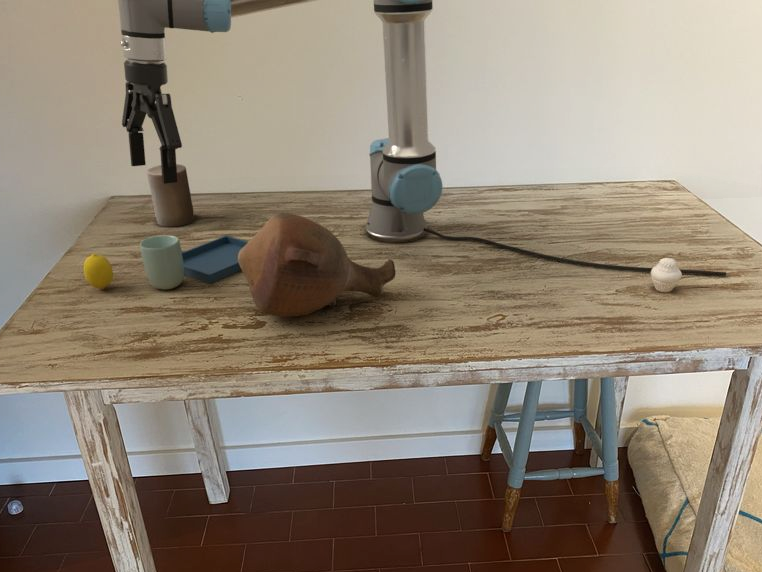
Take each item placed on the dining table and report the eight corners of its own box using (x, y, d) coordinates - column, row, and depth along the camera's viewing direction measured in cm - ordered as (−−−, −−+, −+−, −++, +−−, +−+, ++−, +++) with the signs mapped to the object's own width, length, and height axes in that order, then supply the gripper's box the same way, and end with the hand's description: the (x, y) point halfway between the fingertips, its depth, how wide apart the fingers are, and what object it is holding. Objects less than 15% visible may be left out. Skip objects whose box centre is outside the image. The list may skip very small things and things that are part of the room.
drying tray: (272, 256, 165) (271, 248, 164) (210, 283, 152) (209, 275, 151) (227, 242, 172) (226, 235, 171) (165, 267, 160) (164, 259, 159)
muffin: (641, 285, 149) (647, 255, 146) (665, 281, 152) (670, 250, 148) (661, 297, 144) (667, 265, 141) (685, 292, 147) (691, 261, 143)
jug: (235, 335, 132) (392, 341, 140) (240, 246, 119) (411, 258, 128) (235, 272, 147) (376, 281, 155) (239, 187, 134) (393, 201, 143)
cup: (176, 295, 147) (167, 249, 142) (141, 292, 148) (131, 247, 143) (193, 279, 154) (185, 236, 149) (160, 277, 155) (151, 233, 150)
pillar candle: (202, 218, 188) (193, 162, 180) (173, 229, 180) (162, 171, 173) (177, 212, 192) (167, 156, 185) (148, 222, 185) (136, 165, 177)
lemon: (90, 297, 147) (80, 261, 143) (87, 286, 151) (78, 251, 147) (118, 291, 149) (109, 256, 145) (114, 281, 153) (106, 247, 149)
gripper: (97, 50, 137) (108, 160, 147) (157, 72, 122) (165, 192, 132) (134, 50, 142) (143, 157, 152) (197, 71, 127) (202, 187, 137)
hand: (153, 173), depth 142 cm, fingers open, 13 cm apart
